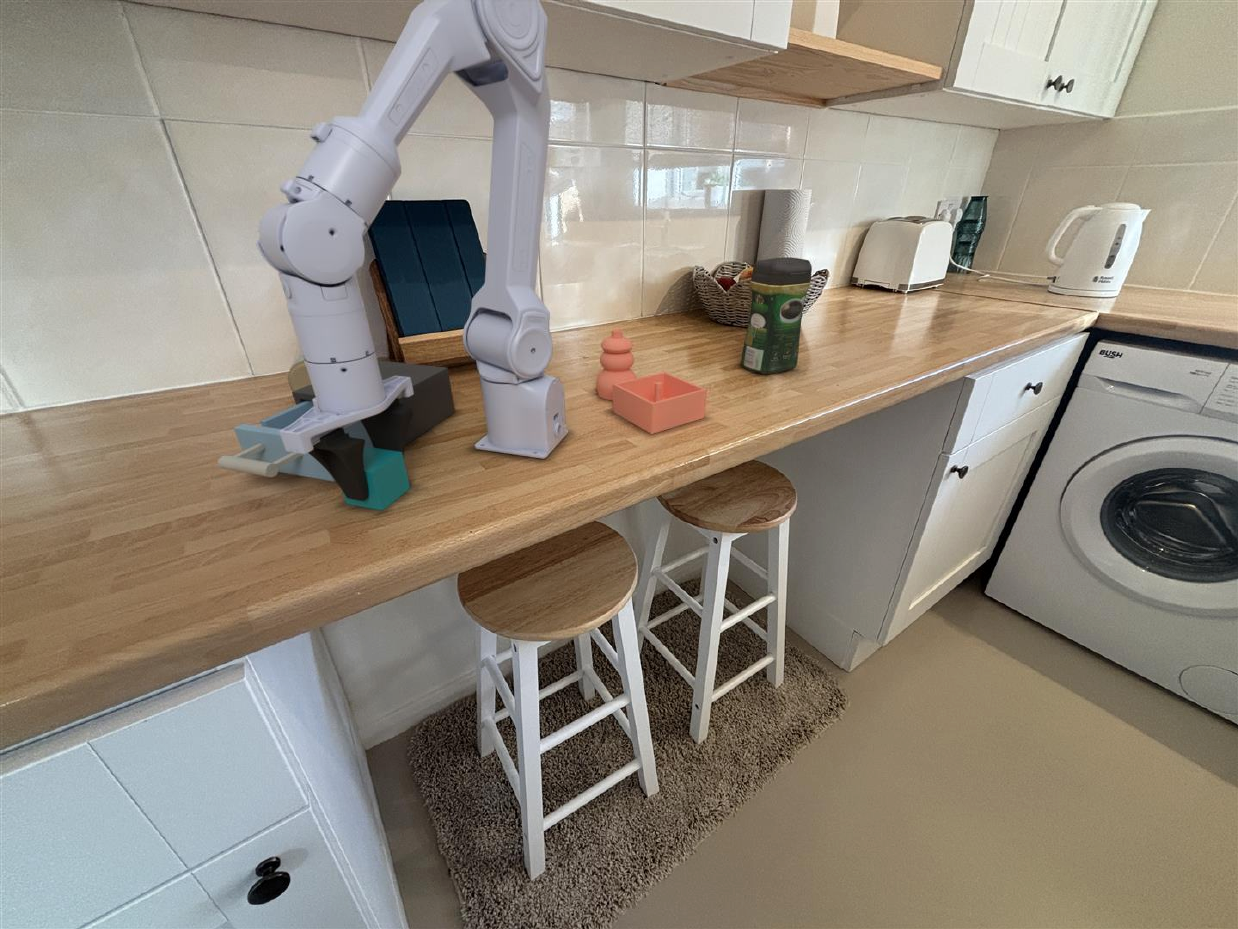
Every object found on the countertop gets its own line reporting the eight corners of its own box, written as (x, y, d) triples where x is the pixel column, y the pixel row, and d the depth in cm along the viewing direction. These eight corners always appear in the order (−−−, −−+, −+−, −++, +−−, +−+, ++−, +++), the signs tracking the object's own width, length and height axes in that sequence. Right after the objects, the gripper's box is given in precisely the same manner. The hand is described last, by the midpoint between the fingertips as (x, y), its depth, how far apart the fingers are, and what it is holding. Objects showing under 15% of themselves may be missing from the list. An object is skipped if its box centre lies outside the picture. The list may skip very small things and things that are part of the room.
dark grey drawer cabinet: (392, 454, 59) (380, 403, 56) (308, 441, 62) (291, 391, 59) (455, 412, 71) (447, 367, 67) (381, 402, 74) (370, 359, 70)
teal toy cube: (410, 488, 53) (402, 451, 50) (382, 510, 49) (372, 472, 47) (375, 482, 54) (366, 446, 51) (346, 503, 50) (334, 466, 48)
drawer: (298, 504, 48) (282, 461, 46) (209, 487, 51) (190, 445, 48) (408, 433, 62) (400, 397, 60) (334, 422, 65) (324, 388, 63)
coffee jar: (772, 358, 94) (789, 253, 85) (803, 370, 88) (824, 258, 79) (732, 365, 91) (745, 256, 82) (760, 378, 84) (778, 261, 75)
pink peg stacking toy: (704, 417, 69) (711, 348, 65) (651, 434, 65) (654, 361, 60) (629, 382, 82) (630, 322, 77) (580, 393, 77) (578, 330, 73)
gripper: (360, 331, 51) (389, 448, 58) (229, 375, 39) (285, 517, 45) (419, 336, 49) (442, 456, 56) (301, 384, 37) (348, 530, 44)
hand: (376, 484), depth 51 cm, fingers open, 5 cm apart
